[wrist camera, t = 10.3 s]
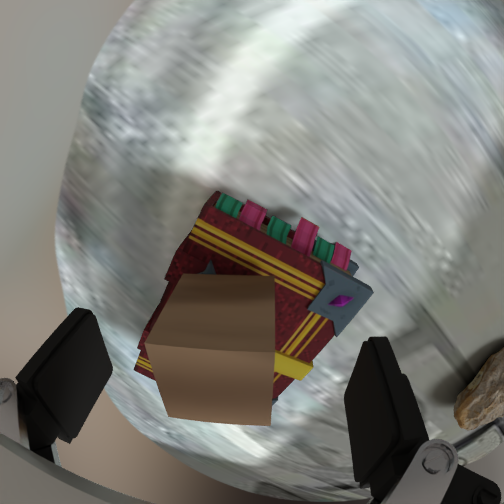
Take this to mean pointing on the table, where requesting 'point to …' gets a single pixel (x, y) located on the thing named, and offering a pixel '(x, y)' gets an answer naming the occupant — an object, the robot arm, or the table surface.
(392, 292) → the table surface
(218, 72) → the table surface
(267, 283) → the walnut block
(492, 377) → the fossil
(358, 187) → the table surface
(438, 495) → the robot arm
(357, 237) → the table surface
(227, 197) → the decorative book
